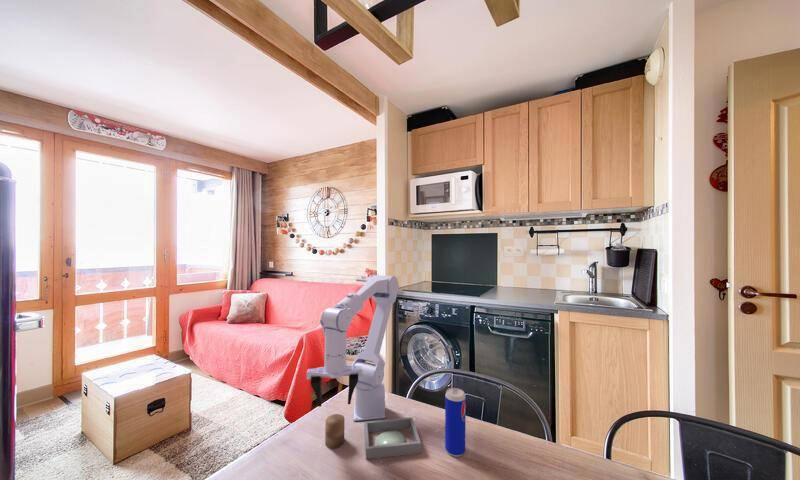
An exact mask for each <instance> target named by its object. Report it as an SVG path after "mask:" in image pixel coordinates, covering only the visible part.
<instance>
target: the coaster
mask: <svg viewBox="0 0 800 480" xmlns="http://www.w3.org/2000/svg"><path fill="white" fill-rule="evenodd" d="M396 443H406V437H405V436H404V435H403V433H401V432H399V431H398V430H384V431H382V432H381V433H380V434H379V435H378V436H377V438H376V444H377V446H378V445H387V444H396Z"/></svg>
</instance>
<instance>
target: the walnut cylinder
mask: <svg viewBox="0 0 800 480" xmlns="http://www.w3.org/2000/svg"><path fill="white" fill-rule="evenodd" d="M324 434H325V436H324V437H325V438H324V439H325V440H324V441H325V446H326V448H328V449H331V450H332V449H338V448H341V447H342V446H343V445H344V443H345V416H344V415H342V414H340V413H336V414H331V415H329V416H327V417H326V418H325V433H324Z"/></svg>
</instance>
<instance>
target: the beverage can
mask: <svg viewBox="0 0 800 480" xmlns="http://www.w3.org/2000/svg"><path fill="white" fill-rule="evenodd" d="M444 396H445V401H444V403H445V405H444V414H445V415H444V416H445V421H444V422H445V426H444V428H445V429H444V433H445V434H444V435H445V436H444V445H445V446H444V448H445V451H446V452H447V453H448V454H449V456H452V457H455V458H457V457H458V458H459V457H461V456H463V455H464V454H465V453H466V419H467V418H466V417H467V416H466V401H467V397H466V394H465V391H464V390H462V389H461V388H457V387H451V388H448V389H447V390H446V392H445V395H444Z"/></svg>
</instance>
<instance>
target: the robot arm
mask: <svg viewBox="0 0 800 480" xmlns="http://www.w3.org/2000/svg"><path fill="white" fill-rule="evenodd" d="M399 287H400V285H399V281H398V277H397V276H396V275H381V274H380V275H379V274H370V275H369V276H368V277H367V278H366V281H365V284H363V286H362V287H360V288H359V290H358V291H357V292H356V293H354V292H353V293H351V292H350V293H348V294H346V296H345V297H344V298H343V299H342V300H341V301H339V302H338V303H336V305H334V306H333V307H332V306H331V307H328V308H327V307H326V309H325V310H323V312H322V314H321V317H320V319H319V324H320V326H321V328H322V334H323V335H324V366H321V367H320V366H319V367H316V368H308V369H307V371H306V380H307V381H308V380H310V386H311V388H312V390H313V392H314V394H315V396H316V397H315V398H316V402H317V406H318V408H320V407H322V404H323V392H322V390H323V389H322V386H323V384H322V383H323V382H322V381H323V378H330V379H338V378H339V377H348V395H347V405H351V403H352V398H353V397H352V396H353V394H354V405H353V421H354V422H357V421H358V422H359V421H372V420H383V419H385V418H386V412H385V411H386V410H385V409H386V391H385V390H386V387H385V383H384V382H383V381H384V376H385V365H386V362H385V360H384V359H383V358H382V356H381V355H380V353H381V348H382V347H383V346H382V345H383V341H384V337H385V334H386V330H387V326H388V322H389V319H390V314H391V310H392V306H393V304H395V302H396V300H397V297H398V292H399V289H400V288H399ZM370 298H372V300H373V301H374V302H375V303H376V306H375V307H376V308H375V310H374V313H373V317H372V321H371V325H370V327H369V331H368V335H367V339H366V341H365V346H364V349H363V350H362V351H360V352H359V353H358V354H356V355H355V358H354V360H353V362H352V363H351V365H350V364H349V365H348V364H347V330H348V329H349V328H350V326H351V324H352V322H353V320H354V317H355V316H356V315H357V314H358V313H359V312H360V311H362V309H363V308H364V303H365V302H366V301H367V300H369V299H370Z"/></svg>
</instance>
